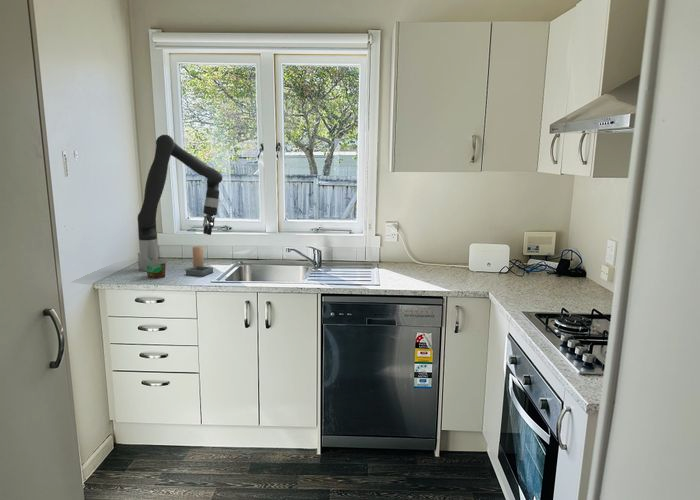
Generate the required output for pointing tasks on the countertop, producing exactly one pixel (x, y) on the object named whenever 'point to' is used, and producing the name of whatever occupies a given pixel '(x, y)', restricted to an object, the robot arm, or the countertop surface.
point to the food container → (155, 268)
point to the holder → (199, 271)
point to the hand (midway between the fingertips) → (207, 234)
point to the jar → (197, 256)
